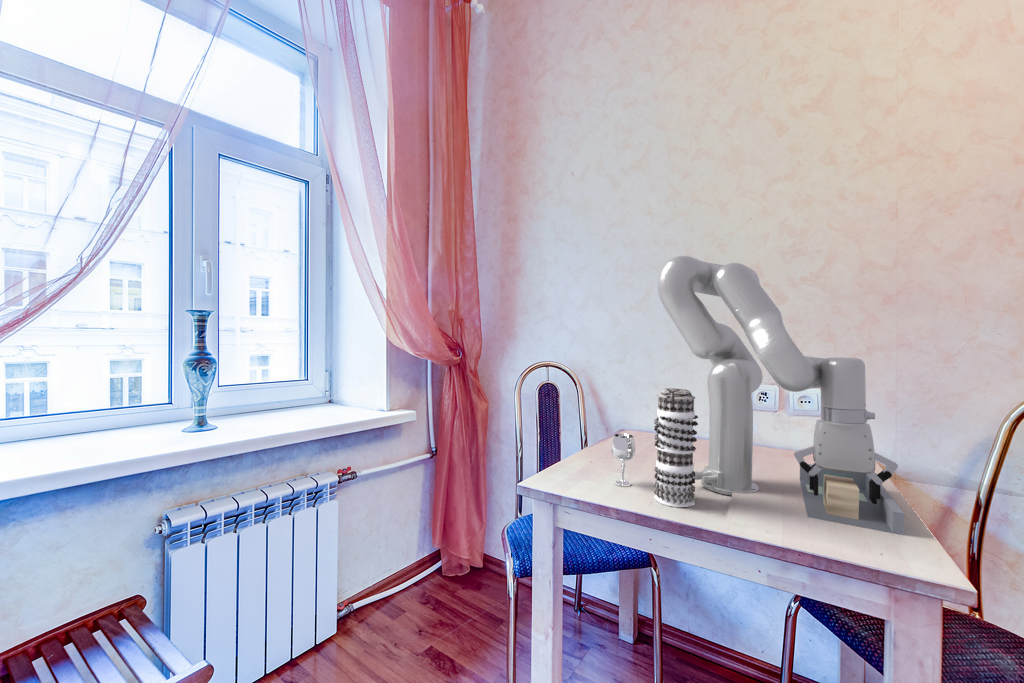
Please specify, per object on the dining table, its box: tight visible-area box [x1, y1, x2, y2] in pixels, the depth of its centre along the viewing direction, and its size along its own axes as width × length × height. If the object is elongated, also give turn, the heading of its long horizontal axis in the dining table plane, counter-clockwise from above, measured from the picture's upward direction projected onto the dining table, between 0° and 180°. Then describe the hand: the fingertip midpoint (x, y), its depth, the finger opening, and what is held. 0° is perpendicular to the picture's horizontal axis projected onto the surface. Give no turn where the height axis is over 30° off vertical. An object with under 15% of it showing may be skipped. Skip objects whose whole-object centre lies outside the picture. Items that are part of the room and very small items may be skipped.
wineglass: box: [611, 433, 636, 485], centre depth 107 cm, size 6×6×12 cm
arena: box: [799, 463, 905, 536], centre depth 95 cm, size 28×14×5 cm, turn 149°
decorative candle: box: [653, 387, 699, 508], centre depth 97 cm, size 9×9×25 cm
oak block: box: [822, 472, 859, 520], centre depth 91 cm, size 10×5×6 cm, turn 149°
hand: (843, 497), depth 91 cm, fingers open, 9 cm apart
